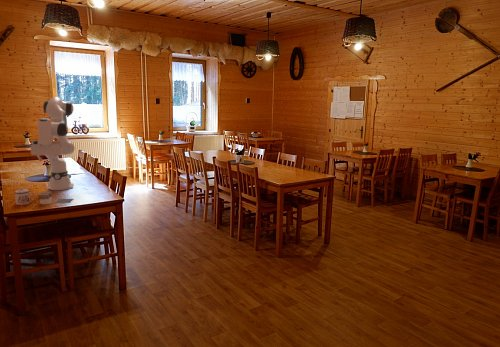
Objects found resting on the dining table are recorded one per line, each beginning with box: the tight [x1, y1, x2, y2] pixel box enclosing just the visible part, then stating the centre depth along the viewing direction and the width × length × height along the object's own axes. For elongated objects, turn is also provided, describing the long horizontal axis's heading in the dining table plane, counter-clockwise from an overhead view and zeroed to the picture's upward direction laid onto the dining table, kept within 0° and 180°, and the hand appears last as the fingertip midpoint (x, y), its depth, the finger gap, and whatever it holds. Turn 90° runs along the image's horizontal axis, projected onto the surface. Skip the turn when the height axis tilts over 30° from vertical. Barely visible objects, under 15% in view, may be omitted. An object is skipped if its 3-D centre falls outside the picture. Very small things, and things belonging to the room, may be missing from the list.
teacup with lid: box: [13, 186, 35, 206], centre depth 264 cm, size 12×9×12 cm
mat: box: [55, 198, 74, 204], centre depth 269 cm, size 12×10×1 cm
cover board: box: [37, 191, 53, 200], centre depth 262 cm, size 9×6×3 cm, turn 11°
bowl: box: [39, 196, 53, 205], centre depth 263 cm, size 6×6×5 cm
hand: (47, 160), depth 268 cm, fingers open, 8 cm apart
